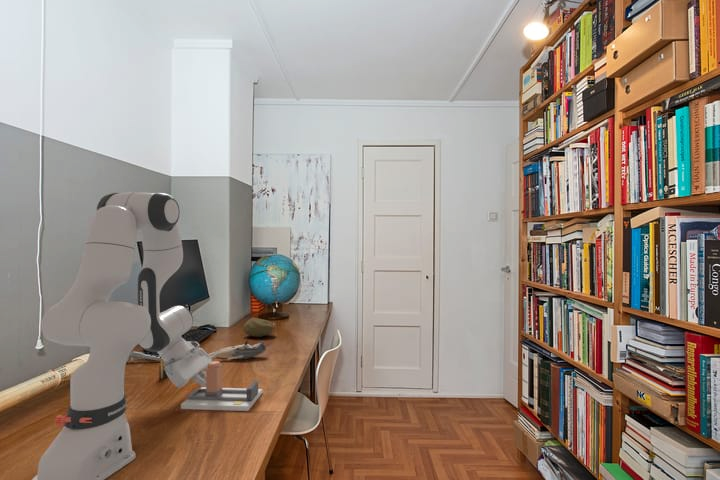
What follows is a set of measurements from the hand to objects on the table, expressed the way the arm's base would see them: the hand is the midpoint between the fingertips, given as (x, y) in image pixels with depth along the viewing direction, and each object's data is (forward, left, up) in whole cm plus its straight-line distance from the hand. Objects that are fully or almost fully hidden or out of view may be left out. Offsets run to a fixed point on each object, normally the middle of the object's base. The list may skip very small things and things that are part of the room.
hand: (207, 384), depth 131 cm
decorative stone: (+82, +9, -6) cm, 83 cm away
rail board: (0, -6, -5) cm, 8 cm away
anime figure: (+44, +9, -6) cm, 45 cm away
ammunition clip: (+23, +26, -6) cm, 35 cm away
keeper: (0, -2, -4) cm, 4 cm away
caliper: (+37, +43, -6) cm, 57 cm away
